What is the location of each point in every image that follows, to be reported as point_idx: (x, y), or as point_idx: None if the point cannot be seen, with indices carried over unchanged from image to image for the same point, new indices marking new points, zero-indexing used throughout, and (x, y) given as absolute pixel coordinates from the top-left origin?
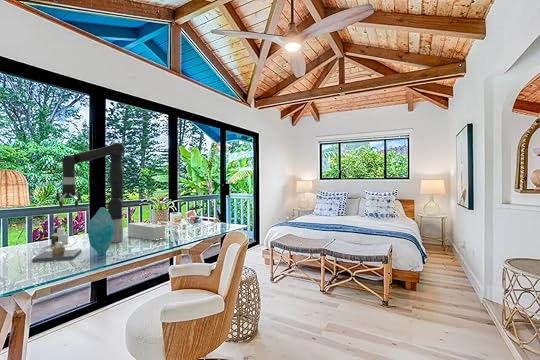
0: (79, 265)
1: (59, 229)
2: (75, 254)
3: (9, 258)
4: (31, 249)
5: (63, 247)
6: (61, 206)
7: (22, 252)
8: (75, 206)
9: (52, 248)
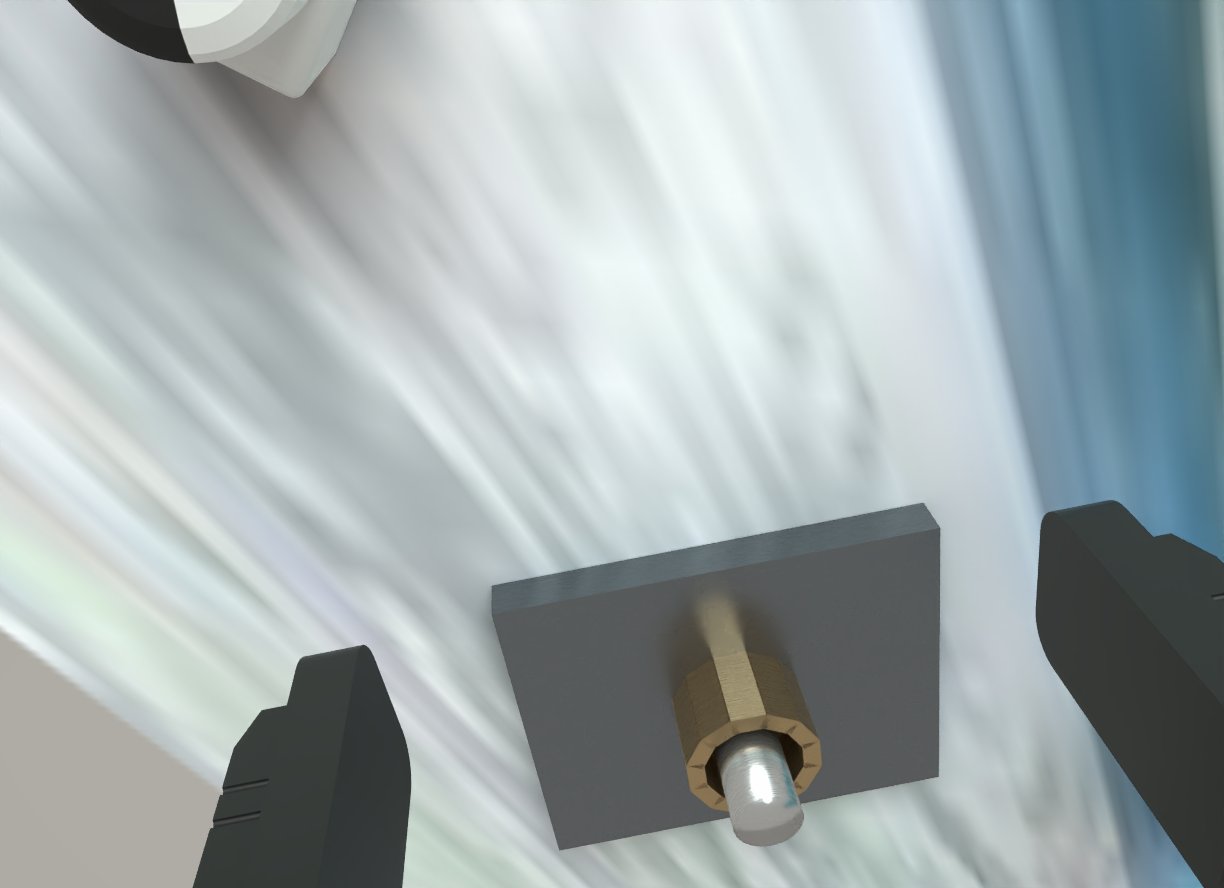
0: (1039, 884)
1: (249, 49)
2: (936, 713)
3: (176, 711)
4: (43, 303)
5: (818, 768)
6: (397, 785)
7: (72, 472)
8: (1060, 632)
9: (696, 791)
